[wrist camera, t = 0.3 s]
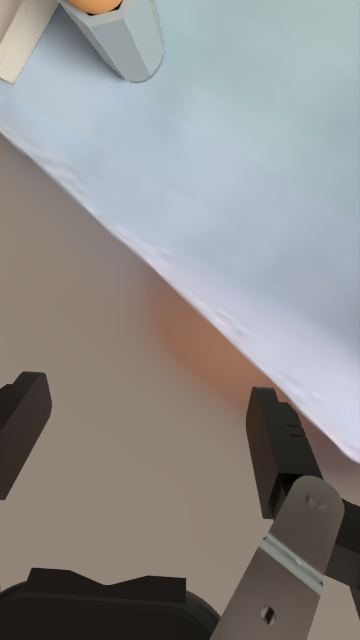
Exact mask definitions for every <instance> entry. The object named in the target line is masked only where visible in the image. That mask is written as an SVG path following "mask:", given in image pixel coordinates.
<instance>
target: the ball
mask: <svg viewBox="0 0 360 640" xmlns="http://www.w3.org/2000/svg"><path fill="white" fill-rule="evenodd" d="M68 1H69V2H70V3H71V4H73V5H74V6H75V7H77V8H78V9H80V10H82V11H84V12H87V13H92V14H103V13H106V12H109V11H111V10H113V9H114V8H115V7H117V6H118V5H119V4H120V3H121V1H122V0H68Z"/></svg>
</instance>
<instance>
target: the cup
mask: <svg viewBox="0 0 360 640" xmlns="http://www.w3.org/2000/svg"><path fill="white" fill-rule="evenodd" d="M58 1H59V3H60V4H61V5H62V7H63V8H64V9H65V11H66V12H67V13H68V14H69V16H70V17H71V18H72V20H73V21H74V22H75V23H76V25H77V26H78V27H79V29H80V30H81V31H82V33H83V34H84V35H85V36H86V38H87V39H88V40H89V42H90V43H91V44H92V46H93V47H94V48H95V49H96V51H97V52H98V53H99V55H100V56H101V57H102V58H103V60H104V61H105V62H106V64H107V65H109V66H110V67H111V68H112V69H113V70H114V71H115V72H116V73H117V74H118V75H119V76H120V77H121V78H123V79H124V80H126V81H127V82H132V83H141V82H144V81H147V80H148V79H150V78H151V77H152V76H153V75H154V74H155V73H156V72H157V70H158V69H159V67H160V65H161V62H162V59H163V54H164V52H165V51H164V41H163V36H162V31H161V23H160V17H159V13H158V9H157V5H156V1H155V0H122V1H121V3H120V4H119V5H118V6H117V7H115V8H114V9H113V10H111V11H109V12H106V13H103V14H92V13H87V12H84V11H82V10H80V9H78V8H77V7H75V6H74V5H73V4H71V3H70V2H69V1H68V0H58Z"/></svg>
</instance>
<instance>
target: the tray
mask: <svg viewBox="0 0 360 640" xmlns="http://www.w3.org/2000/svg"><path fill="white" fill-rule="evenodd" d="M59 4H60V3H59V1H58V0H0V77H1V78H2V79H4V80H6V81H8V82H10V83H11V84H13V85H14V83H15V81H16V80H17V78H18V76H19V74H20V72H21V71H22V69H23V67H24V65H25V64H26V62H27V60H28V58H29V57H30V55H31V53H32V51H33V50H34V48H35V46H36V44H37V42H38V41H39V39H40V37H41V35H42V34H43V32H44V30H45V28H46V27H47V25H48V23H49V21H50V20H51V18H52V16H53V14H54V13H55V11H56V9H57V7H58V5H59Z"/></svg>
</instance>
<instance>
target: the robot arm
mask: <svg viewBox="0 0 360 640" xmlns="http://www.w3.org/2000/svg"><path fill="white" fill-rule="evenodd" d="M51 409H52V401H51V396H50V391H49V386H48V382H47V377H46V374H45V373H41V372H22V373H21V374H20V375H19V376H18V378H17V379H16V380H15V382H14V383H13V384H7V385H5V386H4V387H2V388H1V389H0V500H5V499H6V497H7V495H8V493H9V491H10V489H11V488H12V486H13V484H14V482H15V480H16V478H17V476H18V475H19V473H20V471H21V469H22V467H23V465H24V463H25V461H26V460H27V458H28V456H29V454H30V452H31V450H32V448H33V447H34V445H35V443H36V441H37V439H38V438H39V436H40V434H41V432H42V430H43V428H44V426H45V425H46V423H47V421H48V419H49V417H50V414H51ZM246 432H247V437H248V443H249V448H250V453H251V459H252V464H253V469H254V474H255V479H256V485H257V490H258V495H259V500H260V506H261V511H262V516H263V518H264V519H273V520H274V522H273V524H272V526H271V528H270V530H269V532H268V534H267V535H266V537H265V538H263V540H262V541H261V543H260V545H259V547H258V548H257V550H256V552H255V554H254V556H253V558H252V560H251V562H250V564H249V566H248V567H247V569H246V571H245V573H244V575H243V577H242V579H241V581H240V583H239V584H238V587H237V588H236V590H235V592H234V594H233V596H232V598H231V600H230V601H229V603H228V605H227V607H226V609H225V611H224V613H223V615H222V617H221V616H220V615H219V614H218V613H217V612H216V611H215V610H214V609H213V608H212V607H211V606H210V605H209V604H207V602H206V601H204V600H203V599H201V598H200V597H198V596H197V595H195V594H193V593H191V592H189V591H187V590H186V578H176V577H175V578H174V577H162V576H161V577H160V576H144V577H140V578H136V579H132V580H128V581H124V582H120V583H117V584H113V585H103V584H100V583H98V582H96V581H93V580H91V579H89V578H87V577H84V576H82V575H80V574H77V573H75V572H73V571H70V570H59V569H45V568H32V569H31V571H30V574H29V577H28V579H27V581H25V582H21V583H19V584H16V585H14V586H11V587H9V588H7V589H5V590H4V591H1V587H0V640H306V639H307V636H308V633H309V630H310V627H311V624H312V621H313V618H314V615H315V612H316V608H317V605H318V602H319V599H320V596H321V592H322V588H323V583H322V580H323V577H324V575H326V576H328V577H330V578H333V579H335V580H337V581H339V582H342V583H344V584H346V585H348V586H349V587H350V590H351V593H352V597H353V599H354V603H355V606H356V609H357V612H358V616H359V619H360V506H357V505H354V504H352V503H350V502H347V501H346V500H344V499H342V498H341V497H340V495H339V493H338V492H337V491H336V490H335V489H334V488H333V487H332V486H331V485H330V484H329V483H327V482H326V481H324V479H323V477H322V475H321V472H320V470H319V467H318V465H317V462H316V460H315V457H314V455H313V452H312V449H311V447H310V444H309V442H308V439H307V438H306V434H305V432H304V429H303V428H302V424H301V422H300V419H299V417H298V414H297V413H296V412H295V410H294V409H293V408H292V407H291V406H290V405H289V404H288V403H286V402H279V401H278V398H277V395H276V392H275V390H274V388H268V387H253V388H252V391H251V396H250V401H249V405H248V410H247V415H246Z"/></svg>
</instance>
